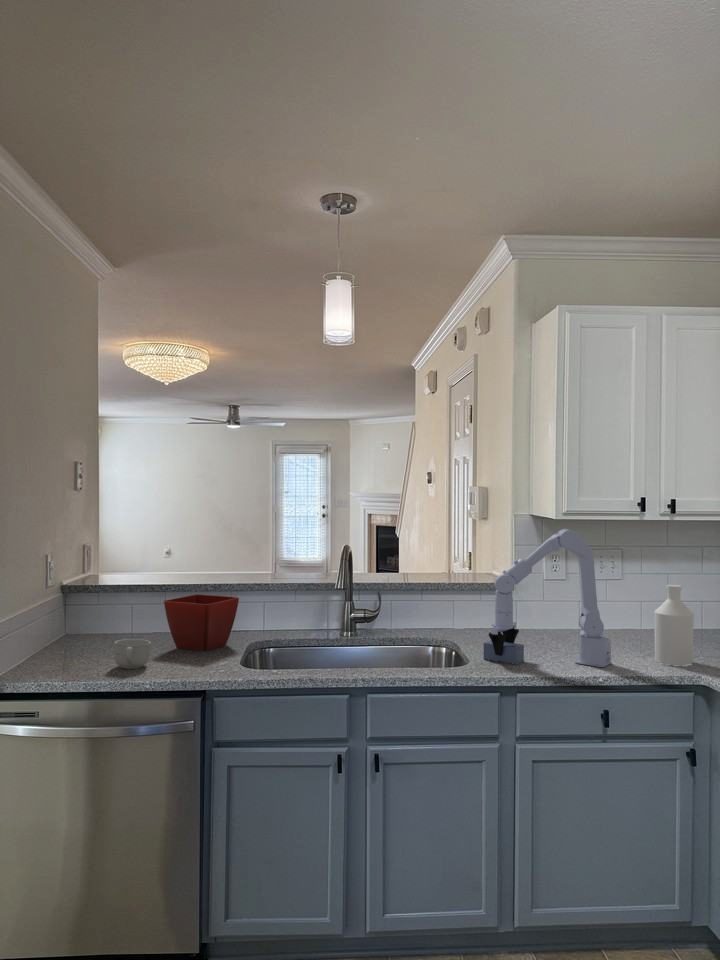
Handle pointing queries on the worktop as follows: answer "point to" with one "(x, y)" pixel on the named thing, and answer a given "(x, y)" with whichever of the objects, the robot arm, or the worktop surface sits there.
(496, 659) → the slate blue block
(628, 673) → the worktop surface
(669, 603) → the bottle
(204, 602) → the plant pot
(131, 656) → the teacup
